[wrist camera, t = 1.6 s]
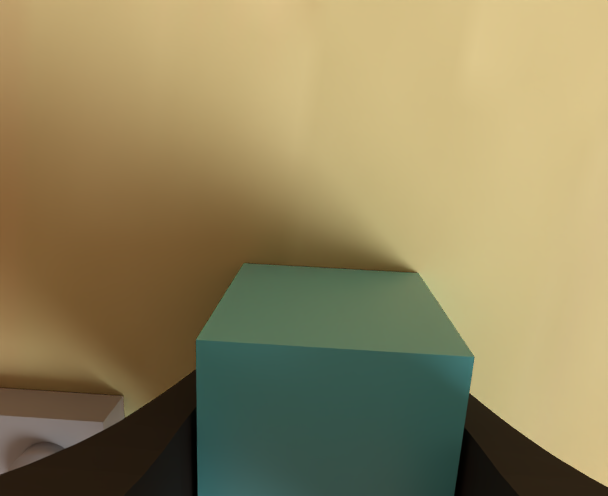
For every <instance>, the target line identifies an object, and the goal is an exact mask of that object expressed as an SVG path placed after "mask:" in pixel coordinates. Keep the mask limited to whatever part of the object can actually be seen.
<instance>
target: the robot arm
mask: <svg viewBox="0 0 608 496" xmlns="http://www.w3.org/2000/svg"><path fill="white" fill-rule="evenodd" d="M0 496H198V472H197V391H196V370H194V371H193V372H192V373H190V374H189V375H188V376H186V377H185V378H184V379H182V380H181V381H179V382H178V383H177V384H175V385H174V386H173V387H171V388H170V389H168V390H167V391H166V392H164V393H163V394H161V395H160V396H159V397H157V398H155V399H154V400H152V401H151V402H149V403H148V404H146V405H145V406H143V407H141V408H140V409H138V410H137V411H135V412H134V413H132V414H131V415H129V416H127V417H126V418H124V419H122V420H121V421H119V422H117V423H116V424H114V425H112V426H110V427H108V428H107V429H105V430H103V431H101V432H99V433H97V434H95V435H93V436H91V437H89V438H87V439H85V440H83V441H81V442H79V443H77V444H75V445H72V446H70V447H68V448H65V449H63V450H61V451H58V452H56V453H54V454H51V455H49V456H47V457H44V458H42V459H40V460H37V461H35V462H33V463H30V464H28V465H25V466H22V467H20V468H17V469H14V470H11V471H8V472H6V473H3V474H0ZM454 496H608V487H606V486H604V485H602V484H601V483H599V482H597V481H595V480H593V479H592V478H590V477H588V476H586V475H585V474H583V473H581V472H580V471H578V470H576V469H575V468H573V467H571V466H570V465H568V464H566V463H565V462H563V461H561V460H560V459H558V458H557V457H555V456H553V455H552V454H550V453H549V452H547V451H546V450H544V449H543V448H541V447H540V446H538V445H537V444H536V443H534V442H533V441H531V440H530V439H528V438H527V437H525V436H524V435H523V434H521V433H520V432H518V431H517V430H516V429H514V428H513V427H512V426H510V425H509V424H508V423H506V422H505V421H504V420H502V419H501V418H500V417H498V416H497V415H496V414H495V413H493V412H492V411H491V410H490V409H488V408H487V407H486V406H485V405H483V404H482V403H481V402H480V401H478V400H477V399H476V398H475V397H473V396H472V395H471V394H470V393H469V397H468V404H467V411H466V418H465V425H464V431H463V438H462V445H461V452H460V459H459V465H458V472H457V479H456V486H455V492H454Z"/></svg>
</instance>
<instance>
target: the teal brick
mask: <svg viewBox="0 0 608 496" xmlns="http://www.w3.org/2000/svg"><path fill="white" fill-rule="evenodd" d="M473 364H474V355H473V354H472V352H471V351H470V350H469V348H468V347H467V345H466V344H465V342H464V341H463V339H462V338H461V336H460V335H459V333H458V332H457V330H456V329H455V327H454V326H453V324H452V323H451V321H450V320H449V318H448V317H447V315H446V314H445V312H444V311H443V309H442V308H441V306H440V305H439V303H438V302H437V300H436V299H435V297H434V296H433V294H432V293H431V291H430V290H429V288H428V287H427V285H426V284H425V282H424V281H423V279H422V278H421V276H420V275H419V273H411V272H393V271H375V270H357V269H339V268H322V267H304V266H286V265H268V264H250V263H244V264H243V265H242V267H241V269H240V270H239V272H238V273H237V275H236V277H235V278H234V280H233V281H232V283H231V284H230V286H229V288H228V289H227V291H226V292H225V294H224V296H223V297H222V299H221V300H220V302H219V304H218V305H217V307H216V308H215V310H214V312H213V313H212V315H211V316H210V318H209V320H208V321H207V323H206V324H205V326H204V328H203V329H202V331H201V332H200V334H199V336H198V337H197V339H196V391H197V472H198V496H454V492H455V486H456V479H457V472H458V465H459V459H460V452H461V445H462V438H463V431H464V425H465V418H466V411H467V404H468V397H469V391H470V384H471V377H472V370H473Z"/></svg>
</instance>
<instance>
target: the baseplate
mask: <svg viewBox="0 0 608 496" xmlns="http://www.w3.org/2000/svg"><path fill="white" fill-rule="evenodd" d="M122 419H124V400H123V396H116V395H101V394H85V393H70V392H55V391H40V390H24V389H9V388H0V474H3V473H6V472H8V471H11V470H14V469H17V468H20V467H22V466H25V465H28V464H30V463H33V462H35V461H37V460H40V459H42V458H44V457H47V456H49V455H51V454H54V453H56V452H58V451H61V450H63V449H65V448H68V447H70V446H72V445H75V444H77V443H79V442H81V441H83V440H85V439H87V438H89V437H91V436H93V435H95V434H97V433H99V432H101V431H103V430H105V429H107V428H108V427H110V426H112V425H114V424H116V423H117V422H119V421H121V420H122Z"/></svg>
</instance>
